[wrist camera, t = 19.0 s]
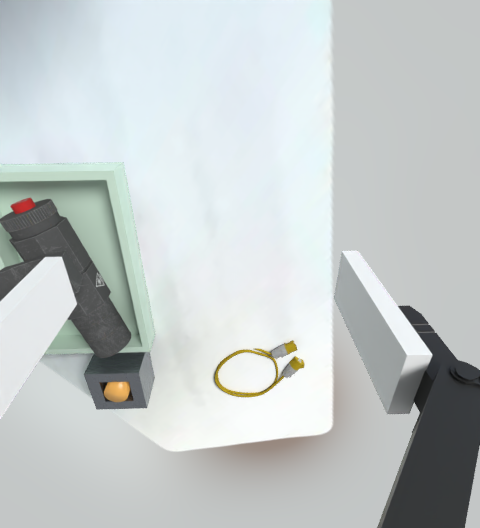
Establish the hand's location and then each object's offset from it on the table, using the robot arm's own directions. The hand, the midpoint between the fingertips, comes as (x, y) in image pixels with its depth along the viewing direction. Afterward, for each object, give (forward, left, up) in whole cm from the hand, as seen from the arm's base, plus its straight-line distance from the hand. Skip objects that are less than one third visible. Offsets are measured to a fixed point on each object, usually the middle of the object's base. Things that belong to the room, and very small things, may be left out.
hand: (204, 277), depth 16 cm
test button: (+34, -17, -25) cm, 45 cm away
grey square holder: (+34, -17, -27) cm, 46 cm away
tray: (+14, -20, -27) cm, 36 cm away
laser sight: (+15, -20, -26) cm, 36 cm away
